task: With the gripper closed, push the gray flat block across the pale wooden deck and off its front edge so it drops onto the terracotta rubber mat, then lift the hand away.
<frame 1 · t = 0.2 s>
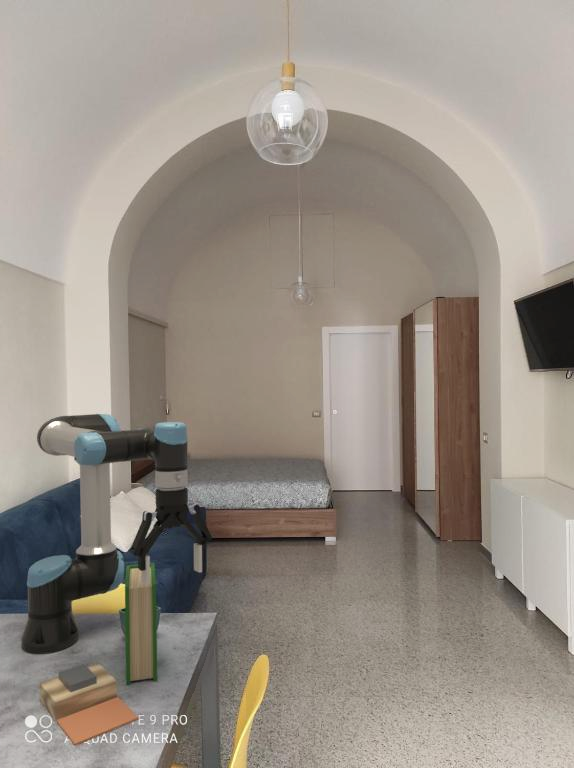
hand: (172, 577, 136), 28 cm above the table, tool pointing down, fingers open, 13 cm apart
hardback book: (141, 667, 150), on the table
mat: (97, 720, 125), on the table
gray flat block: (77, 681, 135), point 4 cm above the table, touching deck
flower pot: (140, 640, 165), on the table
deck: (78, 699, 134), on the table
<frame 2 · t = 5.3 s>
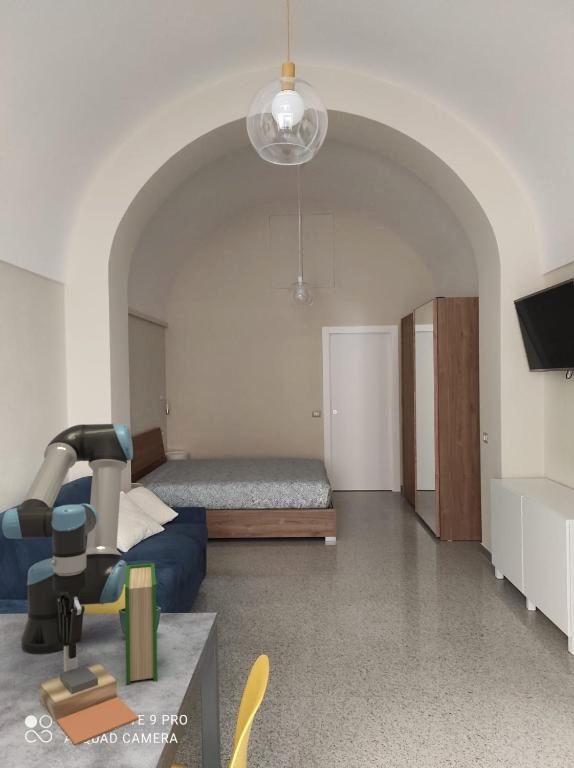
hand: (70, 669, 137), 5 cm above the table, tool pointing down, fingers closed
gray flat block: (78, 682, 134), point 4 cm above the table
everything else where it was.
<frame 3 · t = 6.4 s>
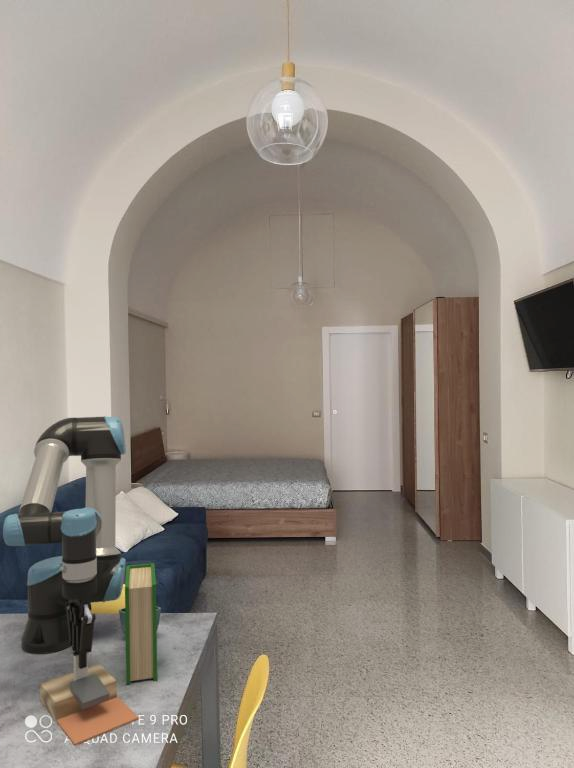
hand: (80, 679, 133), 5 cm above the table, tool pointing down, fingers closed
gray flat block: (89, 694, 129), point 4 cm above the table, tilted 10°, touching gripper
everything else where it was.
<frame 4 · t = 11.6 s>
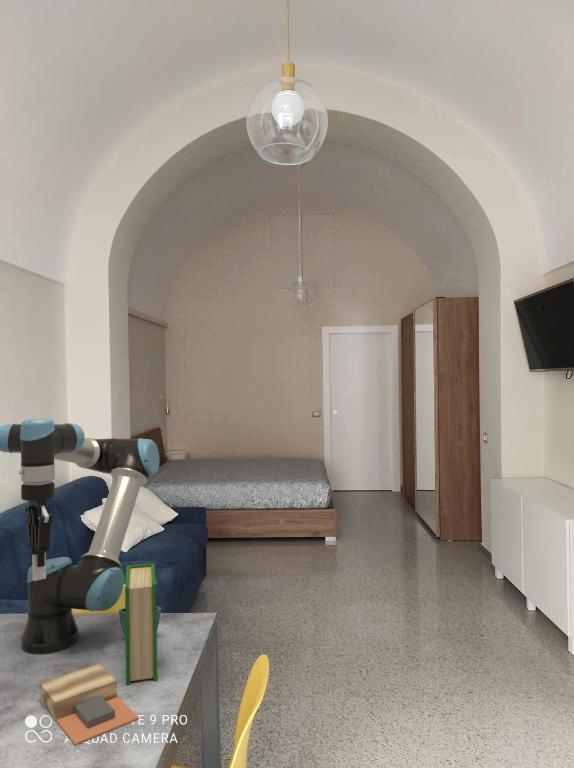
hand: (39, 578, 140), 26 cm above the table, tool pointing down, fingers closed
gray flat block: (94, 715, 127), resting on mat
everything else where it was.
at the end: gray flat block inside the target area on the mat (1.8 cm from its centre), point 0.4 cm above the mat's base; gray flat block touching mat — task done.
